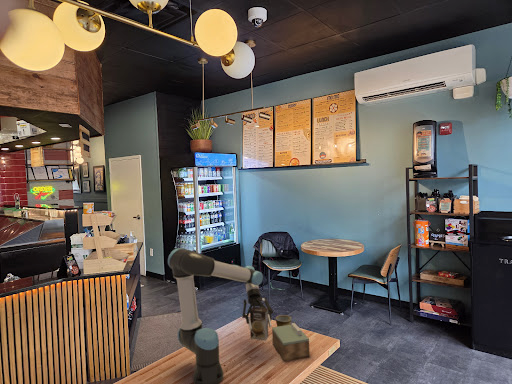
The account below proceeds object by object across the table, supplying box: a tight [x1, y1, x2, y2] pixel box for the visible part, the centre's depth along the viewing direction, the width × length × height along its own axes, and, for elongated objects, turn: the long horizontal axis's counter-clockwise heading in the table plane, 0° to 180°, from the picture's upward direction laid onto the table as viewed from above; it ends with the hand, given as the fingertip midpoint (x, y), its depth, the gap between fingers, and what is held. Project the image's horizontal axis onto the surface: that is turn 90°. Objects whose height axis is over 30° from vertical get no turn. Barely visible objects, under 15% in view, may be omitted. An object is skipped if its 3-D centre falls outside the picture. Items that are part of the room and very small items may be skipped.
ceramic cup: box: [275, 314, 292, 327], centre depth 212 cm, size 13×10×10 cm
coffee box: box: [249, 306, 269, 341], centre depth 184 cm, size 9×6×16 cm
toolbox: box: [271, 329, 310, 363], centre depth 189 cm, size 15×20×9 cm
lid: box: [271, 322, 310, 345], centre depth 189 cm, size 15×20×4 cm
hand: (260, 327), depth 181 cm, fingers closed on coffee box, 11 cm apart
